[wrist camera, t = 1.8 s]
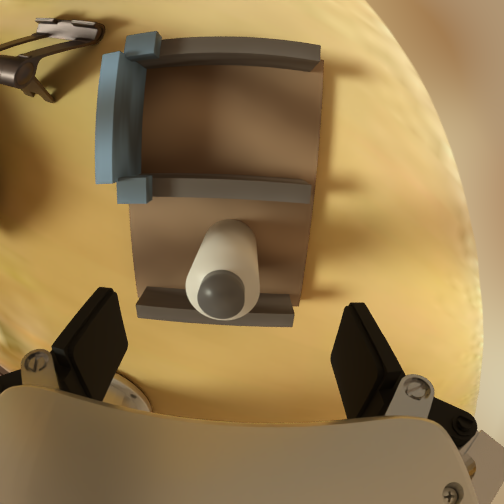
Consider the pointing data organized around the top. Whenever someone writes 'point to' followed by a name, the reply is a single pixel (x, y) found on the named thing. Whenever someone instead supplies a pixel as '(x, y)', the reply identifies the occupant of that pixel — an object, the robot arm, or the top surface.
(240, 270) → the cream plastic cylinder
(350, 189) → the top surface
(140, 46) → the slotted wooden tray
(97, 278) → the top surface
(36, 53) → the portable electronic device stand
